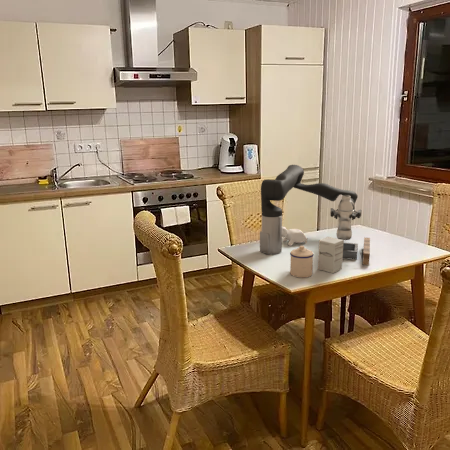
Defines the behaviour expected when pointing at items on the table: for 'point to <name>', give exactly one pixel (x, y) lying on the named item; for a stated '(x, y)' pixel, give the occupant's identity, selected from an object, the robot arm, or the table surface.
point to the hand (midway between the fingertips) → (344, 217)
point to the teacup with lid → (301, 262)
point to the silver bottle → (344, 218)
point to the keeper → (350, 250)
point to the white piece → (293, 236)
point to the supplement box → (330, 254)
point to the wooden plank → (366, 251)
